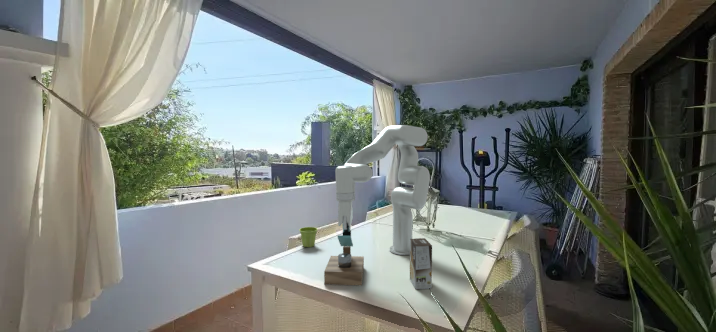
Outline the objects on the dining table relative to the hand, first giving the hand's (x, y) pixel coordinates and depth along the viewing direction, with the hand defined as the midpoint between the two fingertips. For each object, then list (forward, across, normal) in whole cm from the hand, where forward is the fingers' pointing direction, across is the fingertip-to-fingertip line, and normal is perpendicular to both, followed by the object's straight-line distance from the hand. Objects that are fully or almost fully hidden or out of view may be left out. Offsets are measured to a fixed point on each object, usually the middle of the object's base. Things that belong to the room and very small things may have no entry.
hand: (347, 240), depth 125 cm
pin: (+13, +6, 0) cm, 14 cm away
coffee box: (+14, +9, +28) cm, 33 cm away
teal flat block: (0, +2, 0) cm, 2 cm away
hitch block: (+13, +4, -1) cm, 14 cm away
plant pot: (+14, -30, -24) cm, 41 cm away
